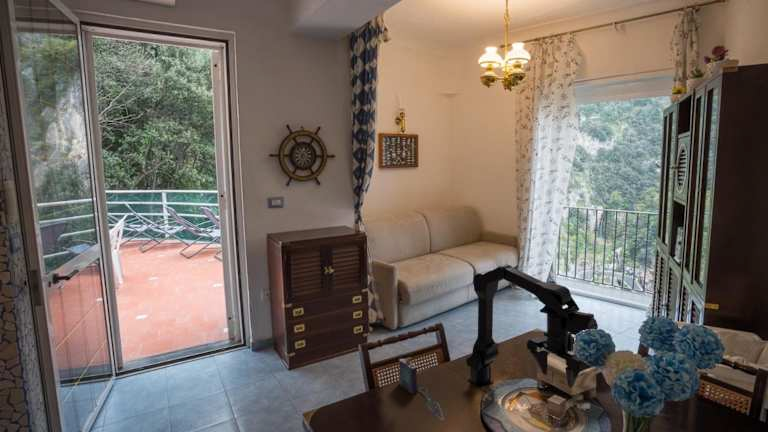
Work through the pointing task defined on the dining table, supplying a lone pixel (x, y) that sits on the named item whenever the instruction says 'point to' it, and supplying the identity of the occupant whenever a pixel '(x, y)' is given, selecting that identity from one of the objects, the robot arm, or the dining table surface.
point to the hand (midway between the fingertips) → (557, 380)
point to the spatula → (561, 405)
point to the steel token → (583, 404)
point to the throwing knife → (431, 403)
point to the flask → (408, 375)
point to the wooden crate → (558, 378)
